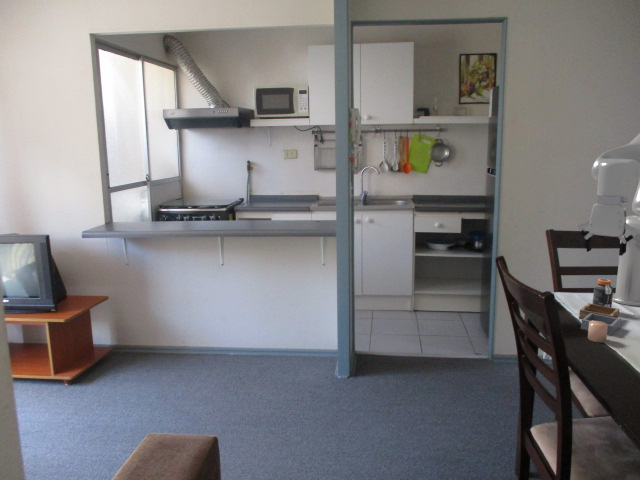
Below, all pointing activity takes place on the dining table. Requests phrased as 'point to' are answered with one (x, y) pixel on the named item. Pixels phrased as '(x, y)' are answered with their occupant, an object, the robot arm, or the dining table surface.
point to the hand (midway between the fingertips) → (604, 252)
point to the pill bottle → (603, 293)
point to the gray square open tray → (612, 322)
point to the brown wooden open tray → (598, 311)
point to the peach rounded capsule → (597, 331)
